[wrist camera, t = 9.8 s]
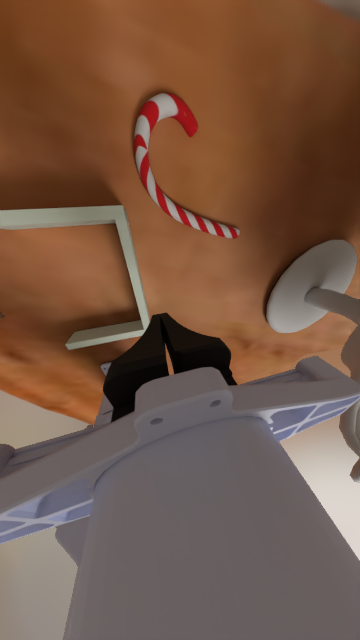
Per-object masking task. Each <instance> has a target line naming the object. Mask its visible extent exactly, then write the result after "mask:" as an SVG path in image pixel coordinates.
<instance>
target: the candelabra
mask: <svg viewBox="0 0 360 640" xmlns="http://www.w3.org/2000/svg"><path fill="white" fill-rule="evenodd" d="M356 262H357V255H356V252H355V248H354V246H352V245H351V244H350V243H348V242H346V241H345V240H329V241H326V242H324V243H322V244H319V245H317V246H315V247H312V248H311V249H309V250H308V251H307V252H305V253H304V254H303V255H301V256H300V257H299V258H297V259H296V260H295V261H294V262H293V263H292V264H291V265H290V266H289V268H288V269H287V270H286V271H285V272H284V273H283V274H282V275H281V277H280V279H279V280H278V282H277V284H276V285H275V287H274V288H273V290H272V292H271V295H270V298H269V301H268V304H267V314H266V318H267V320H268V323H269V325H270V327H271V328H272V329H274V330H275V331H276V332H281V333H291V332H296V331H299V330H301V329H304V328H306V327H308V326H310V325H311V324H313V323H314V322H316V321H317V320H319V319H320V318H322V317H323V316H324V315H325V314H326V313H327V312H328V311H329V312H334V313H338V314H341V315H343V316H345V317H347V318H349V319H351V320H352V321H353V322H355V323H356V324H358V326H357V327H356V329H355V330H354V331H353V332H352V334H351V335H350V336H349V338H348V340H347V341H346V343H345V345H344V347H343V349H342V353H341V359H342V361H343V363H344V364H345V365H346V366H347V367H348V368H349V369H350V371H351V377H350V378H351V379H353V380H354V381H356V382H357V383H359V384H360V299H356V298H352V297H350V296H348V295H346V294H344V292H345V291H346V289H347V288H348V286H349V285H350V282H351V280H352V277H353V275H354V273H355V270H356ZM339 428H340V430H341V432H342V434H343V437H344V439H345V441H346V443H347V445H348V446H349V447H350V448H351V449H352V450H353V451H354V452H355V453H356V454H357V455H358V456H359V457H360V399H359V400H358V401H356V402H355V403H354V404H353V405H352V406H350V407H349V408H348V409H347V410H346V411H344V412H343V413H342V414H341V416H340V424H339ZM350 476H351V477H352V479H353V480H354V482H358V483H360V458H359V460H358V461H357V462H356V464H355V465H354V466H353V469H352V471H351V474H350Z"/></svg>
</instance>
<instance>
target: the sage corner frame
mask: <svg viewBox="0 0 360 640" xmlns="http://www.w3.org/2000/svg"><path fill="white" fill-rule="evenodd" d="M111 223H116V225H117V229H118V233H119V237H120V241H121V244H122V248H123V252H124V256H125V259H126V263H127V267H128V271H129V275H130V278H131V282H132V286H133V290H134V293H135V297H136V301H137V305H138V308H139V312H140V316H141V320H138V321H132V322H127V323H121V324H116V325H110V326H104V327H99V328H93V329H88V330H82V331H76V332H74V333H73V335H72V336H71V337H70V339H69V340H68V341H67V343H66V344H65V345H66V347H67V348H68V350H71V349H76V348H81V347H86V346H92V345H97V344H102V343H107V342H112V341H117V340H122V339H127V338H132V337H137V336H142V335H143V334H144V332H145V331H146V329H147V327H148V325H149V323H150V321H151V320H150V316H149V311H148V307H147V302H146V298H145V293H144V289H143V285H142V280H141V276H140V271H139V267H138V262H137V258H136V253H135V249H134V244H133V240H132V235H131V231H130V226H129V222H128V217H127V213H126V210H125V209H124V207H123V205H117V206H93V207H70V208H46V209H23V210H0V229H10V230H15V229H31V228H47V227H63V226H79V225H95V224H111Z"/></svg>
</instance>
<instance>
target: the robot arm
mask: <svg viewBox="0 0 360 640" xmlns="http://www.w3.org/2000/svg"><path fill="white" fill-rule="evenodd" d="M165 343H166V346H167V349H168V352H169V355H170V358H171V362H172V366H173V370H174V375H170V376H169V372H168V366H167V361H166V351H165ZM230 360H231V352H230V350H229V348H228V347H227V346H226V345H225V343H224V342H223V341H222V340H221V339H220V338H216V337H211V336H206V335H202V334H199V333H196V332H194V331H191V330H189V329H187V328H185V327H183V326H182V325H180V324H179V323H177V322H176V321H175V320H174V319H173V318H171V317H170V316H169V315H168V314H167V313H162V314H156V315H153V316H152V318H151V321H150V323H149V325H148V327H147V329H146V331H145V332H144V334H143V335H142V337H141V338H140V339H139V340H138V341H137V342H136V343H135V344H134V345H133V346H132V347H131V348H130V349H129V350H128V351H126V352H125V353H124V354H123V355H121V356H120V357H118V358H117V359H115V360H114V361H112V362H109V363H104V364H102V365H101V369H102V371H103V372H104V374H105V376H106V378H105V382H104V386H103V392H104V394H103V398H102V402H101V405H100V409H99V413H98V415H97V417H96V420H95V424H94V427H93V425H88V426H87V428H85V429H84V430H81V431H77V432H74V433H71V434H67V435H64V436H60V437H57V438H53V439H50V440H46V441H43V442H40V443H36V444H32V445H29V446H26V447H22V448H19V449H14V448H13V447H12V446H10V445H7V444H0V544H3V543H6V542H9V541H12V540H15V539H18V538H21V537H24V536H27V535H30V534H33V533H36V532H40V531H43V530H46V529H49V528H52V527H56V528H57V530H56V534H55V536H56V539H57V541H58V542H59V544H60V545H61V546H62V547H63V548H64V549H65V550H66V552H67V553H68V554H69V555H70V556H71V558H72V559H73V560H74V561H75V562H76V564H77V566H78V571H77V575H76V580H75V584H74V589H73V594H72V599H71V604H70V608H69V613H68V618H67V623H66V628H65V632H64V637H63V640H360V561H359V559H358V558H357V556H356V555H355V553H354V552H353V551H352V549H351V548H350V546H349V545H348V543H347V542H346V540H345V539H344V537H343V536H342V534H341V533H340V531H339V530H338V528H337V527H336V525H335V524H334V522H333V521H332V520H331V518H330V516H329V515H328V514H327V512H326V511H325V509H324V508H323V506H322V505H321V503H320V502H319V500H318V499H317V497H316V496H315V494H314V493H313V491H312V490H311V488H310V487H309V485H308V484H307V483H306V481H305V480H304V478H303V477H302V475H301V474H300V472H299V471H298V469H297V468H296V466H295V465H294V463H293V462H292V460H291V459H290V457H289V456H288V454H287V453H286V451H285V450H284V448H283V447H282V445H281V444H280V441H282V440H285V439H287V438H289V437H291V436H293V435H295V434H297V433H299V432H301V431H304V430H306V429H308V428H310V427H312V426H314V425H316V424H319V423H321V422H323V421H326V420H328V419H331V418H333V417H336V416H338V415H341V414H342V413H343V412H344V411H346V410H347V409H348V408H349V407H350V406H352V405H353V404H354V403H355V402H356V401H358V400H359V399H360V384H359V383H357V382H356V381H354V380H353V379H351V378H350V377H348V376H347V375H345V374H344V373H342V372H341V371H339V370H338V369H336V368H334V367H333V366H331V365H330V364H328V363H327V362H325V361H324V360H322V359H321V358H319V357H318V356H313V357H309V358H305V359H303V360H301V361H300V362H298V363H297V365H296V367H295V369H292V370H289V371H285V372H282V373H278V374H275V375H271V376H268V377H265V378H261V379H258V380H254V381H251V382H247V383H244V384H240V385H237V383H236V382H235V380H234V379H233V377H232V372H231V370H230V369H229V365H230Z"/></svg>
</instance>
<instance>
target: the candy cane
mask: <svg viewBox="0 0 360 640" xmlns="http://www.w3.org/2000/svg"><path fill="white" fill-rule="evenodd" d="M166 117H172V118H174V119H176V120H177V121H178V122H179V123H180V124H181V125H182V126H183V128H184V129H185V131H186V133H187V134H188V136H189V137H192V136H193V135H194V134H195V133H196V131H197V130H198V124H197V121H196V119H195V117H194V115H193V114H192V112H191V110H190V109H189V107H188V106H187V105H186V103H185V102H184V101H183V100H182V99H180V98H179V97H177V96H176V95H173V94H169V93H161V94H158V95H156V96H154V97H152V98H151V99H149V100H148V101H147V102H146V103H145V104H144V105H143V107H142V109H141V111H140V113H139V116H138V119H137V123H136V128H135V135H134V151H135V159H136V165H137V169H138V172H139V175H140V178H141V180H142V183H143V185H144V187H145V189H146V190H147V192H148V194H149V195H150V197H151V198H152V199H153V200H154V202H155V203H156V204H157V205H158V206H159V207H160V208H161V209H162V210H163V211H164V212H166V213H167V214H168V215H170V216H171V217H172V218H174V219H176V220H177V221H179V222H181V223H183V224H186V225H188V226H190V227H193V228H195V229H198V230H201V231H204V232H207V233H210V234H214V235H217V236H222V237H226V238H232V239H235V238H237V237H238V236H239V233H240V231H239V229H237V228H234V227H230V226H226V225H222V224H219V223H216V222H213V221H210V220H207V219H204V218H202V217H199V216H197V215H195V214H192V213H190V212H188V211H186V210H184V209H182V208H181V207H179V206H178V205H176V204H175V203H173V202H172V201H171V200H170V199H169V198H167V197H166V196H165V194H164V193H163V192H162V191H161V190H160V188H159V187H158V185H157V184H156V182H155V180H154V177H153V175H152V172H151V169H150V165H149V159H148V143H149V138H150V134H151V131H152V129H153V127H154V125H155V124H156V123H157V122H158V121H159V120H161V119H163V118H166Z"/></svg>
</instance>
